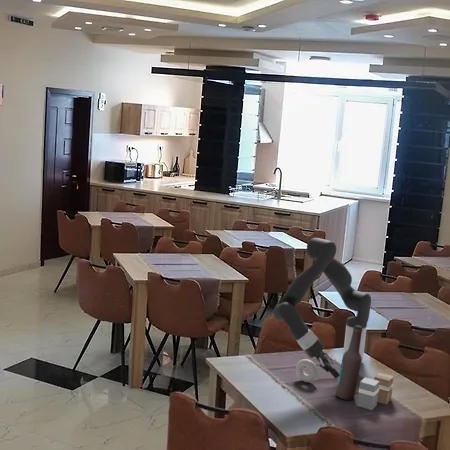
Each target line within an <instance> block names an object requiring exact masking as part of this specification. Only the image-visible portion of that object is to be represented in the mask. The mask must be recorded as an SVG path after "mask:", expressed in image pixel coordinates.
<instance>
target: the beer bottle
mask: <svg viewBox="0 0 450 450" xmlns="http://www.w3.org/2000/svg"><path fill="white" fill-rule="evenodd" d="M362 328H363V327H362V326H359V325H355V326H354V328H353V334H352V338H351V342H350V346H349V349H348V350H347V351H346V352H345V353H344V355H343V354H342V359H341V364H340V368H339V369H340V370H339V372H338V373H339V377H338V378H337V379H338V380H337V384H336V385H337V386H336V390H335V394H336V397H338V398H339V399H341V400H344V401H352V400H354V399H355V396H356V394H357V393H356V392H357V388H358V383H359V376H360V372H361V366H362V364H361V362H362V357H361V355H360V353H359V349H360V341H361V333H362Z"/></svg>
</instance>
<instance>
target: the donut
mask: <svg viewBox="0 0 450 450" xmlns="http://www.w3.org/2000/svg"><path fill="white" fill-rule="evenodd" d="M304 368H308V370H309V374H308V373H306V372H305V370H304ZM295 373H296V376H297V378H298V379H299V380H300V381H302V382H304V383H313V382H314V381H316V379H317V377H318V375H319V370H318V367H317V365H316V363H315V362H313V360H310V359H309V358H308V359H307V358H303V359H301V360H298V362H297V364H296V366H295Z"/></svg>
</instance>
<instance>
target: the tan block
mask: <svg viewBox="0 0 450 450" xmlns="http://www.w3.org/2000/svg"><path fill="white" fill-rule="evenodd" d="M394 378H395V377H394V375H390V374H386V373H382V372H378V373H377V374H376V375H375V376H374V379H373V380H377V381H380V383H379V392H378V400H377V403H379V404H384V405H388V404H389V403H390V402H391V401H392V396H393V387H394Z"/></svg>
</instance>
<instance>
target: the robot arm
mask: <svg viewBox="0 0 450 450" xmlns="http://www.w3.org/2000/svg"><path fill="white" fill-rule="evenodd" d="M306 253H307V254H308V257H309V258H310V259H311V260H312V261H313V262H314V263H313V264H312V265H311V266H310V267H308V268H307V269H305V270H304V271H303V272H301V273H299V274H298V275H297V276H296V277H295V278H294V279H293V281H292V282H291V284H290V285H289V287H288V289H287V290H286V292H285V293H284V294H283V296H282V297H281V298H280V300H278V301H277V303H276V305H275V306H274V308H273V317H274V319H276V320H277V321H278V322H285V324H286V325H287V326H288V332H289V334H291V336H292V337H293V338H294V339H295V341H296V342H297V344H298V346H300V348H301V349H302V350H303V351H304V353H305V354H306V355H307V356H308V357H309V358H310V359H313V358H316V362H317V363H318V364H319V366H320V368H321V369H322V370H324V371H326V372H327V373H330V374H331V375H332V377H333V378H334V379H338V378H339V373H340V372H338V370H337V369H336V368H335V367H334V362H333V361H332V359H331V358H330V356H329V355H328V352H325V351H323V350H324V349H325V345H324V344H323V342H321V340H320V339H319V337H318V336H317V335H316V334H315V333H314V332H313V331H312V330H311V328H309V326H308V325H307V324H306V323H305V322H304V320H303V319H302V316H301V315H300V313H299V312H298V310H297V309H296V306H297V305H298V304H299V303H301V302H302V300H303V299H304V297H305V295H306V294H307V292H308V290H309V289H310V287H311V286H312V284H313V283H314V282H315V281H316V280H317V279H318V277H319V276H320V275H321V274H322V273H323V274H324V275H325V276H326V278H327V279H328V281H329V282H330V284H331V285H332V286H333V287H334V289H335V290H336V292H337V293H338V294H339V296H340V298H341V299H342V302H343V303H344V306H345V308H347V309H349V310H351V311H354V312H356V316H349V317H347V319H346V324H345V333H344V344H343V351H342V356H343V355H344V353H345V352H346V351H347V350H348V349H349V346H350V342H351V338H352V334H353V328H354V326H355V325H359V326H362V327H363V328H362V333H361V341H360V349H359V353H360V355H361V357H362V362H361V365H362V364H363V362H364V352H365V344H366V343H365V342H366V337H367V336H366V334H367V327H368V326H367V325H368V322H369V318H370V312H371V307H372V306H371V305H372V297H371V295H370V294H369V293H367V292H363V291H361V290H356V289H354V288H353V287H352V281H353V277H352V275H351V273H350V271H349V270H348V269H347V267H346V266H345V264H343V263H341V261H339V260H337V259H336V258H335V256H336V254H337V245H336V243H335V242H333V241H332V240H330V239H329V240H328V239H324V238H320V237H313V238H311V239H309V241H308V242H307V244H306Z"/></svg>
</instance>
